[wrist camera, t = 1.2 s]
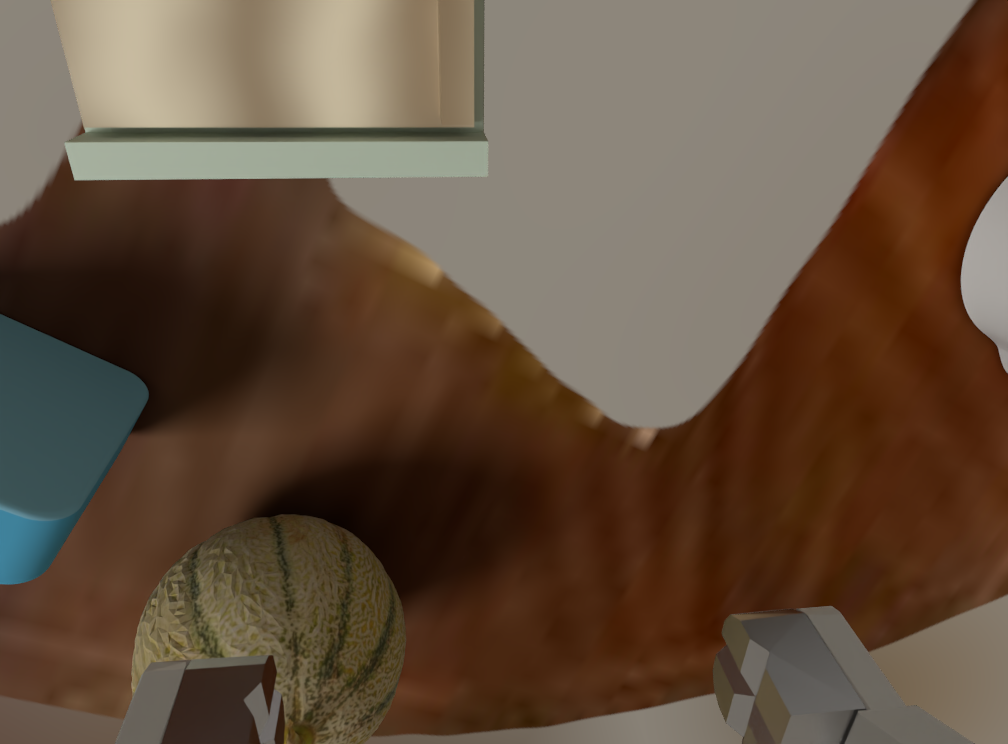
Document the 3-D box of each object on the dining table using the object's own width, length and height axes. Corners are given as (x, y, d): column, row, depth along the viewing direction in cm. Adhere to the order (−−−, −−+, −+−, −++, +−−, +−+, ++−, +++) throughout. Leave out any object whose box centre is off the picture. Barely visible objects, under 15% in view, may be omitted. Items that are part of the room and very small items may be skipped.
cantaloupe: (143, 594, 46) (39, 833, 33) (227, 431, 41) (143, 639, 28) (347, 654, 51) (327, 881, 38) (445, 515, 46) (460, 724, 33)
